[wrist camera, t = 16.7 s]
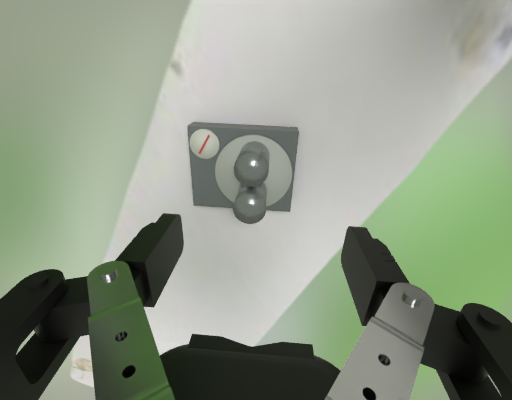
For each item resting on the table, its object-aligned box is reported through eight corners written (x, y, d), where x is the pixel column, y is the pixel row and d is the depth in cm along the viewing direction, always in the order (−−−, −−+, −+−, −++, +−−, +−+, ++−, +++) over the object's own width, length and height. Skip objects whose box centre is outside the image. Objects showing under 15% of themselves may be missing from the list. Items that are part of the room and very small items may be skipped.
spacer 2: (267, 178, 39) (266, 196, 34) (266, 204, 41) (264, 224, 36) (238, 177, 39) (233, 194, 34) (238, 202, 41) (233, 222, 36)
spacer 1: (267, 139, 37) (266, 151, 31) (271, 168, 38) (270, 184, 33) (237, 143, 37) (230, 155, 32) (242, 172, 39) (236, 188, 34)
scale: (297, 127, 39) (299, 133, 36) (289, 203, 45) (290, 214, 42) (193, 122, 40) (185, 127, 37) (198, 197, 46) (192, 208, 42)
